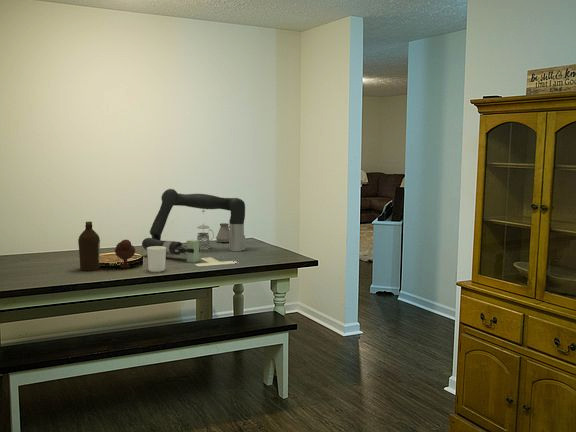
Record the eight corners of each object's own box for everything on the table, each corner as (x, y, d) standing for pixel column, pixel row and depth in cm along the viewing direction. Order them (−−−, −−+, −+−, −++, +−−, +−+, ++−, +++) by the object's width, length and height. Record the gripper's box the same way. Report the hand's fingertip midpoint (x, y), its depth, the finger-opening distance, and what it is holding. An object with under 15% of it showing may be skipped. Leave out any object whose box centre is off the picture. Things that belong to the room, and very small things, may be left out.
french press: (195, 246, 369) (195, 209, 367) (213, 246, 371) (213, 209, 368) (195, 249, 360) (195, 210, 357) (213, 249, 361) (213, 210, 358)
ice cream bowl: (139, 265, 306) (139, 238, 304) (127, 269, 296) (127, 241, 294) (123, 264, 310) (122, 237, 308) (110, 268, 299) (110, 240, 297)
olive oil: (81, 272, 288) (80, 223, 285) (77, 268, 297) (75, 221, 294) (102, 270, 293) (101, 222, 291) (97, 266, 302) (96, 220, 299)
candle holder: (168, 268, 300) (168, 246, 299) (162, 272, 290) (162, 249, 289) (150, 268, 301) (150, 245, 299) (144, 271, 291) (144, 248, 290)
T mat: (185, 259, 326) (185, 259, 326) (224, 256, 337) (224, 256, 337) (198, 266, 307) (198, 266, 307) (239, 263, 318) (239, 263, 318)
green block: (191, 260, 325) (191, 239, 323) (199, 261, 322) (199, 240, 321) (186, 261, 320) (186, 240, 319) (193, 262, 318) (193, 241, 317)
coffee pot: (213, 241, 393) (213, 220, 391) (228, 240, 399) (228, 219, 397) (226, 246, 374) (226, 223, 373) (241, 245, 380) (242, 223, 379)
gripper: (164, 242, 320) (189, 245, 313) (180, 239, 333) (204, 242, 325) (164, 255, 321) (189, 258, 313) (180, 252, 334) (204, 255, 326)
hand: (196, 250), depth 319 cm, fingers closed on green block, 5 cm apart
